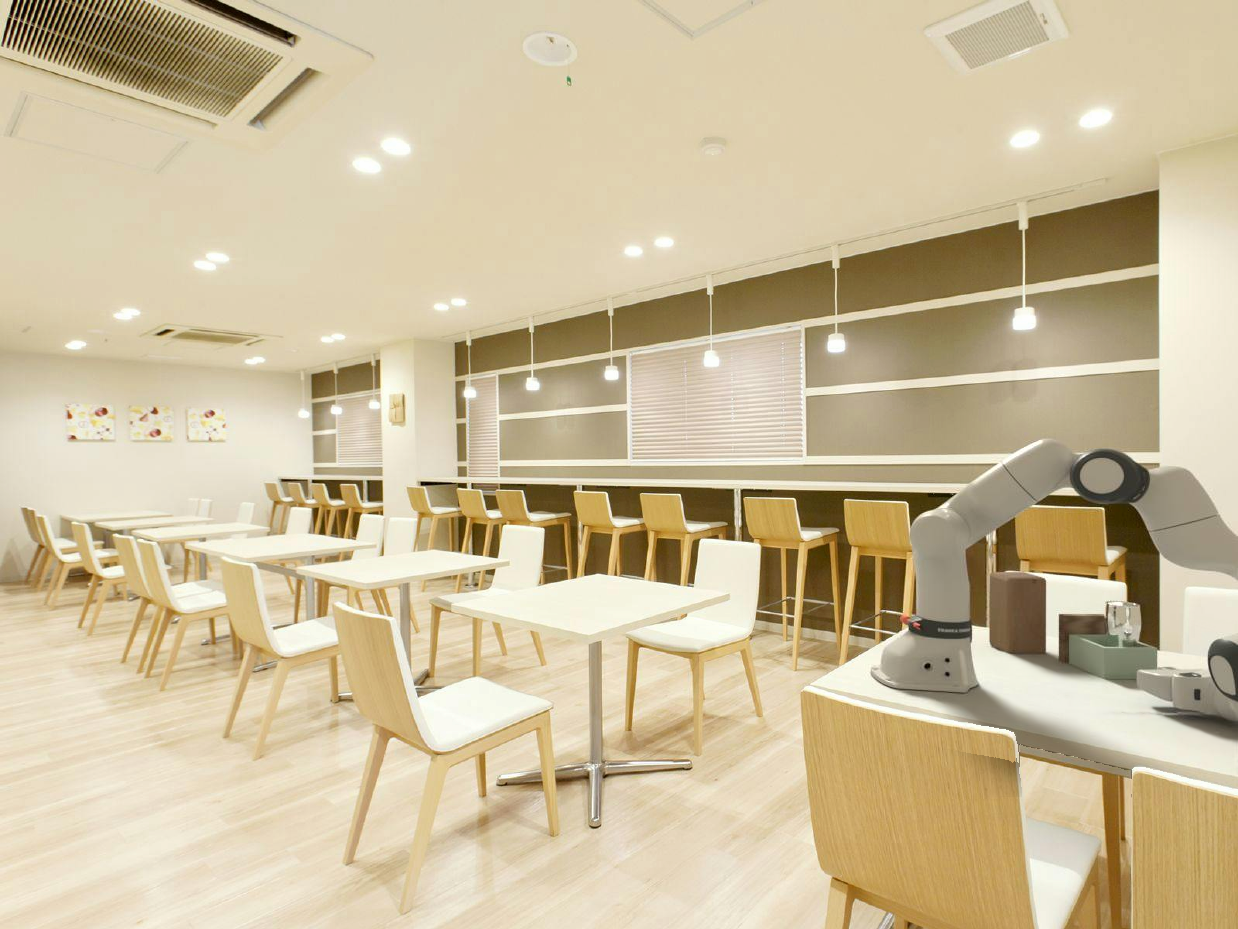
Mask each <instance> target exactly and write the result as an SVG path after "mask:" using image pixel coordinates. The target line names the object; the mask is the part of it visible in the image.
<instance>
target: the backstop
mask: <svg viewBox="0 0 1238 929" xmlns="http://www.w3.org/2000/svg"><path fill="white" fill-rule="evenodd" d="M1069 635H1106V634H1105V628H1104V613H1059V614H1058V661H1059V662H1061V663H1063V664H1070V663H1069Z"/></svg>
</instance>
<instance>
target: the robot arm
mask: <svg viewBox="0 0 1238 929" xmlns="http://www.w3.org/2000/svg"><path fill="white" fill-rule="evenodd" d="M1065 488H1067V489H1068V488H1071V489H1073V490H1074V491H1075V493H1076V494H1077V495H1079V496H1080V497H1082V498H1083V499H1084V500H1086V501H1089V502H1092V503H1095V504H1099V505H1101V504H1102V505H1110V504H1111V505H1112V504H1113V505H1114V504H1130V505H1131V506H1132V507H1134V508H1135V509H1136V511H1137V512H1138V514H1139V515H1140V517H1141V519H1142V521H1143V523H1144V525H1145V527H1146V529H1147V531H1148V533H1149V536H1150V538H1151V540H1152V542H1153V544H1154V546H1155V548H1156V549H1157V551H1158V552H1159V554H1160V555H1161V556H1162V557H1163V558H1164V559H1166V560H1167V561H1168V562H1170V563H1172V564H1174V565H1175V566H1179V567H1181V568H1184V569H1188V570H1194V571H1204V572H1205V571H1207V572H1215V573H1220V574H1225V575H1228V576H1230V577H1231V578H1233V579H1235V580H1236V581H1238V535H1237V534H1236V533H1235V532H1233V531H1232V530H1231V528H1230V527H1229V526H1228V525H1227V524H1226V523H1225V522H1224V520H1223V518H1222V517H1221V514H1220V512H1219V511H1218V509H1217V507H1216V505H1215V504H1214V501H1213V500H1212V498H1211V497H1210V495H1209V494H1208V492H1207V491H1206V489H1205V488H1204V487H1203V486H1202V484H1201V483H1200V481H1199V480H1198V479H1197V478H1196V476H1195V475H1194V474H1193V473H1192V472H1191V471H1190V470H1189V469H1187V468H1185V467H1181V466H1176V465H1175V466H1174V465H1166V466H1159V467H1156V468H1151V469H1148V468H1146V467H1144V466H1143V465H1141V464H1140V463H1138V462H1137V461H1135V460H1134V459H1133V458H1132V457H1131V456H1130V455H1128V454H1126V453H1125V452H1123V451H1121V450H1119V449H1113V448H1096V449H1092V450H1091V449H1090V450H1089V451H1086V452H1084V453H1077V452H1074V451H1073V450H1071V448H1070V447H1069V446H1067V445H1066V444H1064V443H1063V442H1061V441H1059V440H1057V439H1054V438H1042V439H1039V440H1036V441H1034V442H1032V443H1030V444H1028V445H1026V446H1024V447H1023V448H1020V449H1019V450H1017V451H1014V452H1013V453H1011V454H1010V455H1008V456H1007V457H1006V458H1004V459H1002V460H1001V461H1000V462H998V463H996V464H995V465H993V466H992V467H991V468H990V469H988V470H987V471H985V472H984V473H982V474H981V475H980V476H978V477H977V478H975V479H974V480H972V481H971V482H970V483H968V484H967V485H966V486H965V487H964V488H962V489H961V490H959V491H958V492H957V493H955V495H953V496H952V497H950V498H949V499H948V500H947V501H945V502H944V503H942V504H941V505H940V506H938V507H937V508H934V509H932V510H927V511H925V512H923V513H921V514H919V515H918V516H917V517H916V518H915V519H914V520H913V522H912V524H911V526H910V528H909V534H908V535H909V541H910V545H911V554H912V561H913V568H914V573H915V574H914V575H915V582H916V583H915V589H916V590H915V591H916V596H915V597H916V598H915V600H916V611H915V612H916V613H915V614H914V615H913V616H912V617H910V616H908V615H906V614H902V615H901V616H900V617H899V620H900V622H901V624H904V625H906V626H908V627H907V628H908V630H907V631H906V632H904V633H903V634H902V635H900V636H899V637H897V638H895V639H894V640H893V641H890V643H888V644H887V645H885V647H884V648H883V650H882V653H881V658H880V664H878V665H876V664H875V665H872V666H871V667H870V674H871V676H872V677H873V678H874V679H875V680H877V681H878V682H879V683H880V684H881V683H882V684H883V685H886V686H888V687H891V688H894V689H901V690H902V689H903V690H918V691H919V690H920V691H921V690H922V691H935V692H951V693H968V692H969V689H971V688H974V687H976V686H977V685H979V681H978V678H977V675H976V671H975V667H974V661H973V655H972V642H973V622H972V621H973V620H972V619H971V583H970V581H969V580H970V579H969V575H968V567H967V566H968V565H967V556H966V550H967V549H968V548H969V547H970V548H971V546H973V545H974V544H976V543H977V542H979V541H980V540H982V539H983V538H985V537H986V536H988V535H989V534H991V533H993V532H995V530H997V529H998V528H1000V527H1001V526H1003V525H1005V524H1007V523H1008V522H1009V521H1011V520H1012V519H1015V517H1017V516H1018V515H1020V514H1022V513H1023V512H1025V511H1026V510H1028V509H1029V508H1031V507H1033V506H1034V505H1036V504H1037V503H1038V502H1040V501H1042V500H1043V499H1045V498H1047V496H1048V497H1049V495H1052V494H1053V493H1055V492H1057V491H1059V490H1061V489H1065ZM1136 685H1137V687H1138V688H1139V689H1140V690H1141V691H1143V692H1146V694H1147V693H1148V694H1149V695H1151V696H1154V697H1156V698H1158V699H1160V700H1163V701H1167V702H1170V703H1172V706H1173V707H1175V708H1177V709H1179V710H1184V711H1191V712H1200V713H1206V714H1208V715H1209V714H1210V715H1213V716H1214V717H1215V716H1216V717H1221V718H1224V719H1226V720H1228V721H1232V722H1235V723H1238V633H1234V634H1231V635H1228V636H1224V637H1220V638H1217V639H1215V640H1214V641H1212V643H1211V644H1210V645H1209V649H1208V651H1207V668H1205V669H1204V668H1202V669H1195V668H1194V669H1192V668H1191V669H1189V668H1188V669H1185V668H1183V669H1182V668H1178V667H1175V666H1157V670H1138V671H1137V679H1136Z"/></svg>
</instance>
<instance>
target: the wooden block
mask: <svg viewBox="0 0 1238 929" xmlns="http://www.w3.org/2000/svg"><path fill="white" fill-rule="evenodd" d="M988 586H989V589H988V590H989V595H988V596H989V604H988V605H989V609H988V610H989V615H988V617H989V621H988V622H989V629H988V630H989V631H988V632H989V638H988V639H989V641H988V642H989V644H990V646H993V647H994V648H996V649H998V650H1000V651H1002V652H1005V653H1007V654H1011V655H1012V654H1017V655H1019V654H1020V655H1021V654H1026V655H1027V654H1033V655H1035V654H1037V655H1038V654H1039V655H1041V654H1046V653H1047V580H1046V578H1044V577H1043V576H1039V575H1034V574H1032V573H1028V572H1024V571H1000V572H999V571H993V572H989V585H988Z"/></svg>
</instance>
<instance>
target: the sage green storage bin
mask: <svg viewBox="0 0 1238 929" xmlns="http://www.w3.org/2000/svg"><path fill="white" fill-rule="evenodd" d="M1068 664H1070V665H1073V666H1075V667H1076V668H1079V669H1081V670H1083V671H1085V672H1088V673H1089V674H1093V675H1095V676H1096V677H1098V678H1101V679H1104V680H1137V671H1138V670H1158V647H1155V646H1152V645H1149V644H1146V643H1143V642H1141V641H1138V646H1137V647H1108V644H1107V639H1106V635H1069V663H1068Z"/></svg>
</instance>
